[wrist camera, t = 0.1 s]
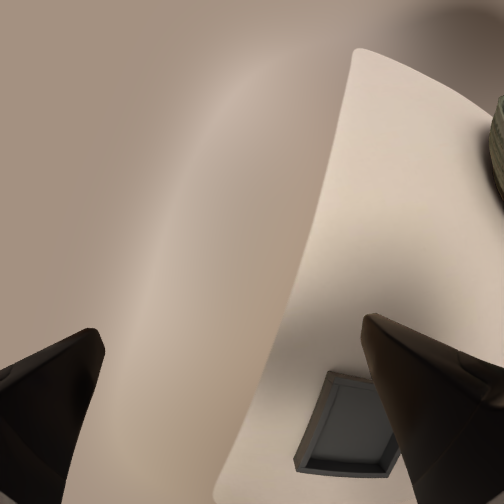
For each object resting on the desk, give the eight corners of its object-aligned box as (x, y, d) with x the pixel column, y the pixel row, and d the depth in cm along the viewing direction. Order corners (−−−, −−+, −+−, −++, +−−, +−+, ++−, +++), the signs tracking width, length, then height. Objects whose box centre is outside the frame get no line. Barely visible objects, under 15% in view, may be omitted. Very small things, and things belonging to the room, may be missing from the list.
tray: (378, 466, 18) (387, 477, 15) (293, 458, 19) (295, 472, 16) (412, 385, 20) (426, 390, 17) (327, 370, 21) (335, 376, 18)
